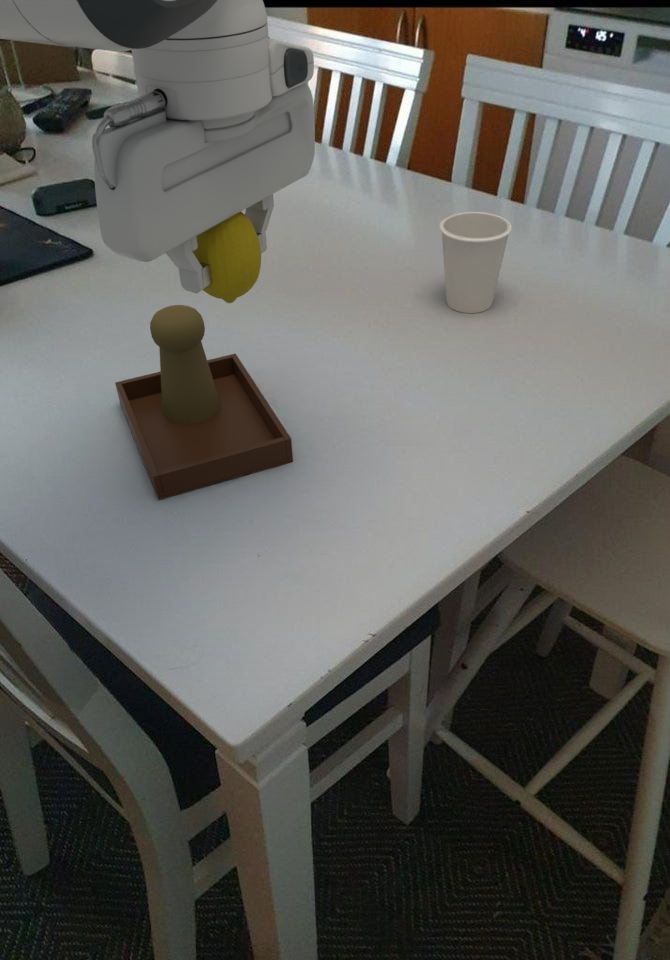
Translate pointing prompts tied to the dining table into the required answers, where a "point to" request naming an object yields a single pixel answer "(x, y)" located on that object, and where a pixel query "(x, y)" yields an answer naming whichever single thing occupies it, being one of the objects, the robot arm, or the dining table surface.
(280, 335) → the dining table surface
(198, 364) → the cork
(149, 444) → the tray
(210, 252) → the lemon
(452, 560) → the dining table surface
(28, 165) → the dining table surface
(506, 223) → the dixie cup
